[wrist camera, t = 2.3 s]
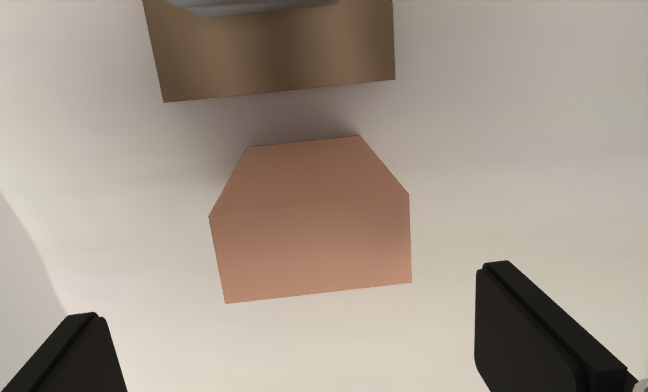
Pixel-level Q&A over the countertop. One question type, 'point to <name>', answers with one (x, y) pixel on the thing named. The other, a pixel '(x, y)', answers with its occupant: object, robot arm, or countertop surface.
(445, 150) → the countertop surface
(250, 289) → the terracotta rectangular block
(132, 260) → the countertop surface
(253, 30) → the walnut shelf
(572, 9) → the countertop surface
